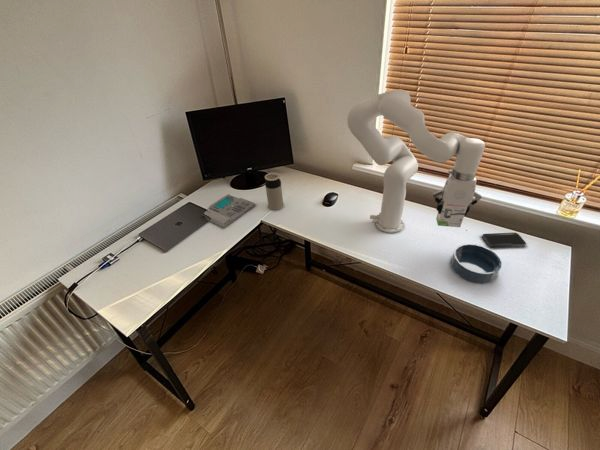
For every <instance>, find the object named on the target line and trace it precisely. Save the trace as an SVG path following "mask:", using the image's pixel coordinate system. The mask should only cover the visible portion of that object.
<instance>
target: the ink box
mask: <svg viewBox="0 0 600 450" xmlns="http://www.w3.org/2000/svg"><path fill="white" fill-rule="evenodd" d="M442 205H443V207H442V211H441V214H438V213H437V215H436V217H435V220H436V224H437V226H438V227H450V228H461V226H462V223H463V220H464V218H465V216H466V215H465V212H466V210H467V207H468V204H458V203H446V202H444V203H443V204H442Z"/></svg>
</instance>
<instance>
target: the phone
mask: <svg viewBox="0 0 600 450" xmlns="http://www.w3.org/2000/svg"><path fill="white" fill-rule="evenodd" d="M481 238H482V239H483V241H484V242H485V243H486V245H487V246H488V247H489V248H493V249H495V248H513V247H514V248H517V247H518V248H519V247H520V248H521V247H525V246H526V245H527V242H526V241H525V240H524V239H523V238H522V237H521V236H520V234H519V233H517V232H497V233H496V232H495V233H494V232H493V233H483V234H482V236H481Z"/></svg>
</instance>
